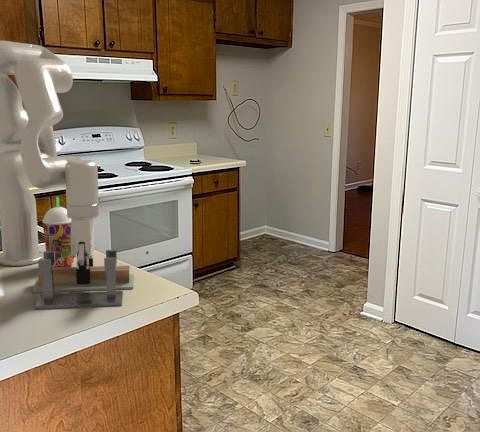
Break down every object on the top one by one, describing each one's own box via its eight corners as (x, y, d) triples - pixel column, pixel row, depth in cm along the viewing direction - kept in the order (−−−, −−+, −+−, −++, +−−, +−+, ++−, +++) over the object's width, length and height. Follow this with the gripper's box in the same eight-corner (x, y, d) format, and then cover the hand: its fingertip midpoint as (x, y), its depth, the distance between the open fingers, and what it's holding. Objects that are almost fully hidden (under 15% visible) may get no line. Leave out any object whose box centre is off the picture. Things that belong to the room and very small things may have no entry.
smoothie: (66, 273, 133) (63, 201, 129) (38, 270, 135) (34, 198, 130) (82, 264, 141) (79, 195, 137) (55, 261, 143) (52, 193, 138)
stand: (40, 297, 117) (38, 251, 115) (122, 293, 121) (122, 249, 118) (34, 309, 110) (31, 260, 108) (121, 305, 114) (121, 258, 112)
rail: (41, 281, 126) (40, 268, 125) (129, 278, 130) (129, 265, 129) (38, 286, 122) (37, 272, 121) (129, 282, 127) (129, 270, 126)
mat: (39, 279, 128) (39, 277, 128) (133, 276, 133) (133, 274, 133) (32, 292, 119) (31, 290, 119) (133, 289, 124) (133, 286, 124)
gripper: (71, 203, 129) (74, 267, 133) (61, 218, 113) (65, 291, 117) (101, 203, 131) (102, 266, 135) (95, 218, 114) (98, 290, 118)
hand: (85, 277), depth 126 cm, fingers open, 7 cm apart
